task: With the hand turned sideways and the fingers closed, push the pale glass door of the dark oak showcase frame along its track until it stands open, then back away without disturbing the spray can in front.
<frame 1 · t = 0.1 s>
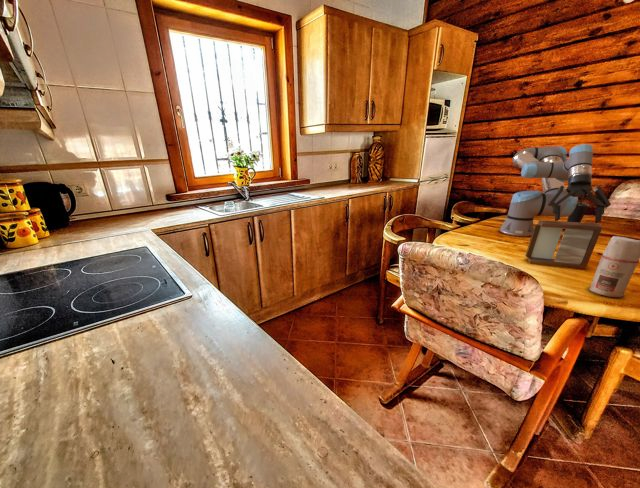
hand: (577, 220, 123), 15 cm above the table, tool tilted 35°, fingers open, 13 cm apart
showcase frame: (551, 263, 119), on the table
spray can: (604, 293, 96), on the table
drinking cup: (571, 228, 162), on the table
door: (543, 242, 118), point 9 cm above the table, slide at 0.0 cm
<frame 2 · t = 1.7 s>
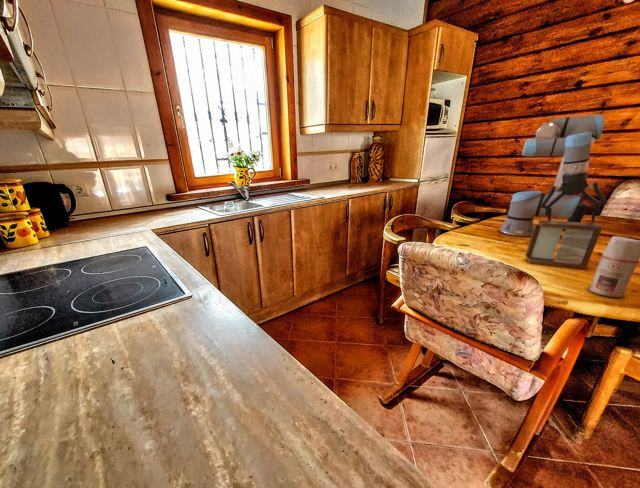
hand: (570, 221, 123), 15 cm above the table, tool pointing down, fingers open, 13 cm apart
nothing on the table moved.
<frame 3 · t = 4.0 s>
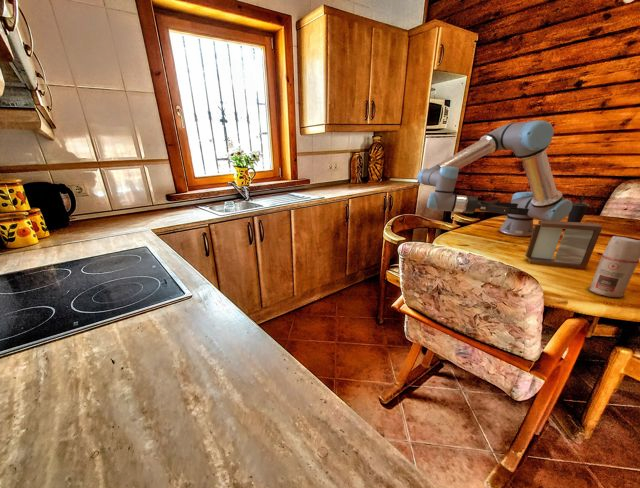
hand: (522, 209, 118), 23 cm above the table, tool horizontal, fingers open, 13 cm apart
nothing on the table moved.
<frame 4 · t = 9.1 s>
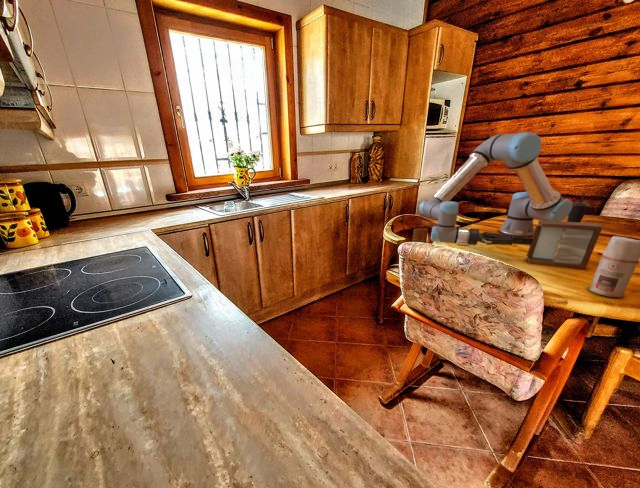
hand: (531, 241, 120), 9 cm above the table, tool horizontal, fingers closed
door: (545, 242, 118), point 9 cm above the table, slide at 0.5 cm, touching gripper
everything else where it was.
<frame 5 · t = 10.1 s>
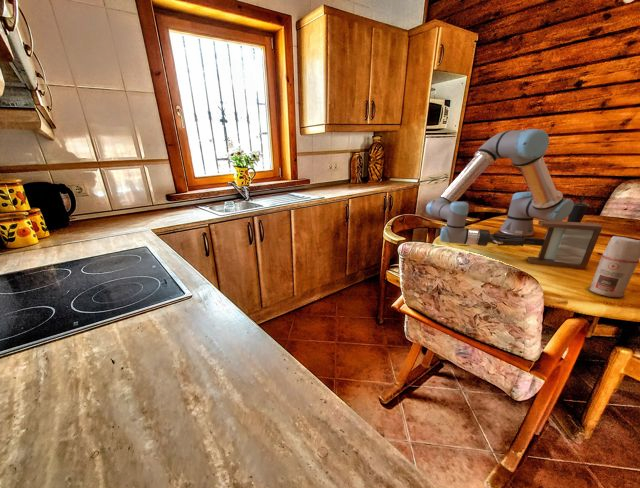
hand: (542, 242, 118), 9 cm above the table, tool horizontal, fingers closed
door: (557, 243, 116), point 9 cm above the table, slide at 4.4 cm, touching gripper
everything else where it was.
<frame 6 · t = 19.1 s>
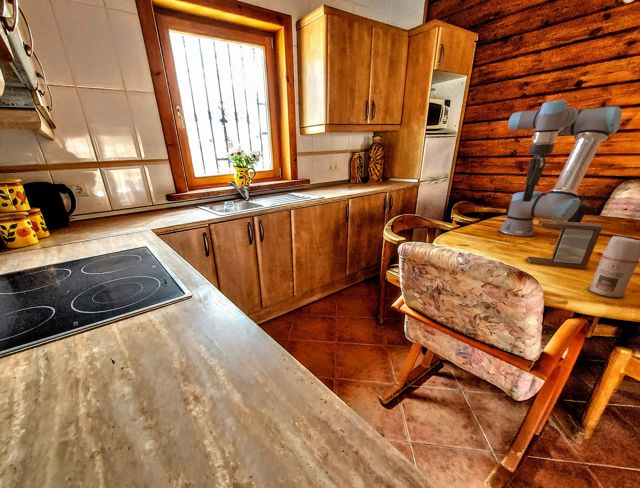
hand: (526, 201, 123), 24 cm above the table, tool pointing down, fingers closed
door: (571, 244, 114), point 9 cm above the table, slide at 8.8 cm
everything else where it was.
at the end: door slide at 8.8 cm; spray can moved 0.2 cm from its start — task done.
